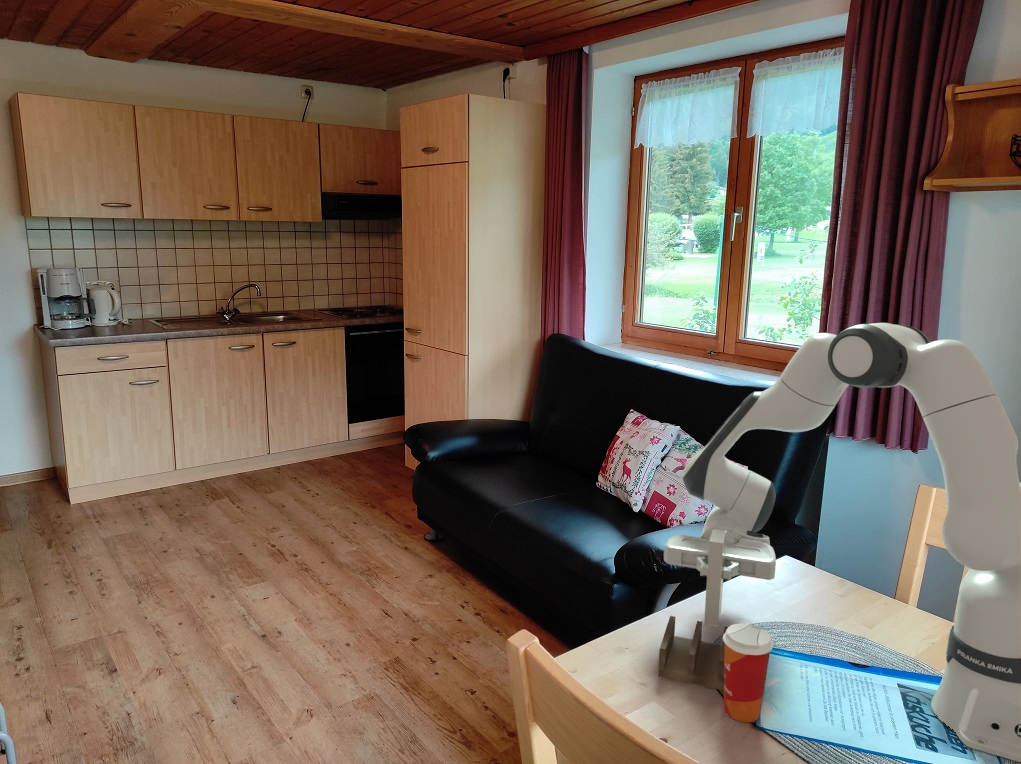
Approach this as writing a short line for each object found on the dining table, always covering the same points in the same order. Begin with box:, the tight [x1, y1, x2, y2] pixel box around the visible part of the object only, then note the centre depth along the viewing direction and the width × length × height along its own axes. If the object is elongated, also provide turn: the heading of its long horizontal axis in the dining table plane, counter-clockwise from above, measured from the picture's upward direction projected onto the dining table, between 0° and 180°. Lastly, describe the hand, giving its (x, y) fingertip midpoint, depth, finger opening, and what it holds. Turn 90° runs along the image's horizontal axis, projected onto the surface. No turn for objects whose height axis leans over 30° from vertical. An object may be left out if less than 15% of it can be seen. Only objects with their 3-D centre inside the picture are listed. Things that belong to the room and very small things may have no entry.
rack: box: [657, 615, 729, 691], centre depth 135 cm, size 16×12×6 cm
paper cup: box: [722, 623, 774, 724], centre depth 122 cm, size 8×8×14 cm
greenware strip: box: [703, 529, 726, 628], centre depth 136 cm, size 2×6×16 cm, turn 159°
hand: (715, 574), depth 135 cm, fingers closed on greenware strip, 2 cm apart
